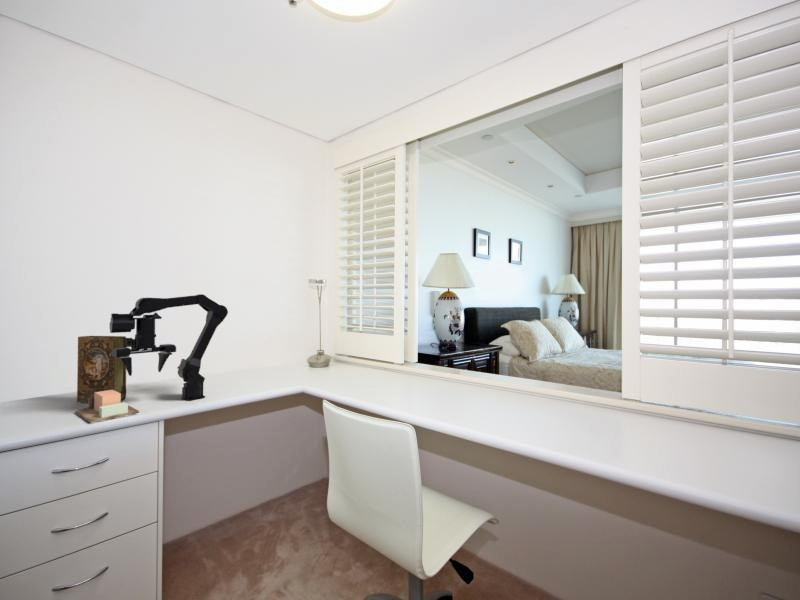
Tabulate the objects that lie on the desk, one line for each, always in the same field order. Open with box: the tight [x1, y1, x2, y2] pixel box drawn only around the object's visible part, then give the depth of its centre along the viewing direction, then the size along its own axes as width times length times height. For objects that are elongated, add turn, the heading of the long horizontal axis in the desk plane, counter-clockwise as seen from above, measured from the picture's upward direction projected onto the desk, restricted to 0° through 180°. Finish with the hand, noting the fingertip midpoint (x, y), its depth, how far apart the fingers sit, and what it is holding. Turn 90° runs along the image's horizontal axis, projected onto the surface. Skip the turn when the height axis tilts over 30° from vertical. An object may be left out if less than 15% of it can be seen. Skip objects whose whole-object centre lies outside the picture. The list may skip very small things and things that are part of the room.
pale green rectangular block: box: [99, 401, 129, 418], centre depth 119 cm, size 7×3×3 cm, turn 143°
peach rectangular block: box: [94, 390, 122, 412], centre depth 124 cm, size 5×9×6 cm, turn 53°
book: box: [76, 335, 127, 404], centre depth 138 cm, size 16×6×25 cm, turn 84°
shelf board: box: [75, 401, 140, 424], centre depth 124 cm, size 13×18×1 cm
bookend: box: [86, 397, 94, 409], centre depth 128 cm, size 7×2×4 cm, turn 143°
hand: (145, 373), depth 132 cm, fingers open, 9 cm apart
